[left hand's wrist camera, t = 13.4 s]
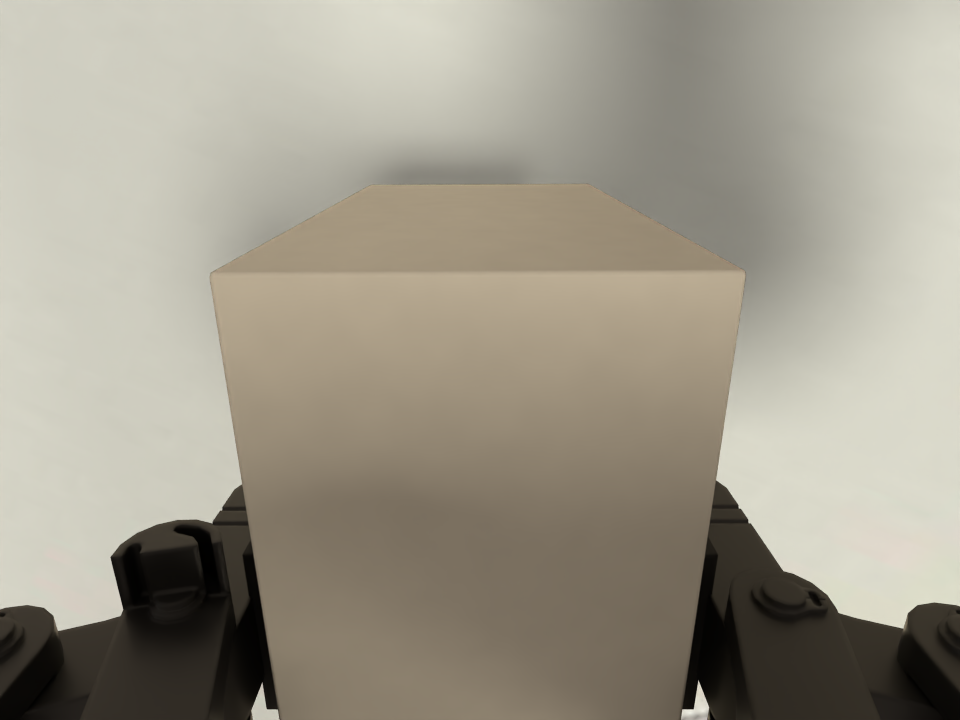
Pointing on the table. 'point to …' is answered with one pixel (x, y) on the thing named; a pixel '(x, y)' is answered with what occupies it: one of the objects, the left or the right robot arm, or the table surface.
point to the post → (479, 451)
